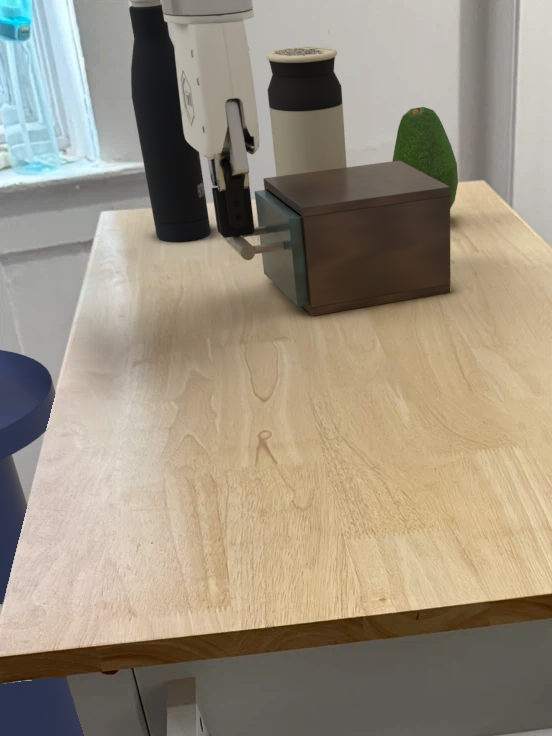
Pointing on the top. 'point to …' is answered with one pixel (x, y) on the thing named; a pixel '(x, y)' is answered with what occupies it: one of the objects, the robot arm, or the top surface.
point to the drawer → (278, 246)
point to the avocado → (427, 147)
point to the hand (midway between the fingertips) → (236, 233)
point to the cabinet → (370, 234)
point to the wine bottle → (164, 130)
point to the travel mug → (306, 110)
